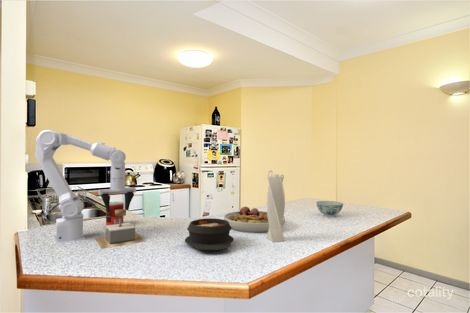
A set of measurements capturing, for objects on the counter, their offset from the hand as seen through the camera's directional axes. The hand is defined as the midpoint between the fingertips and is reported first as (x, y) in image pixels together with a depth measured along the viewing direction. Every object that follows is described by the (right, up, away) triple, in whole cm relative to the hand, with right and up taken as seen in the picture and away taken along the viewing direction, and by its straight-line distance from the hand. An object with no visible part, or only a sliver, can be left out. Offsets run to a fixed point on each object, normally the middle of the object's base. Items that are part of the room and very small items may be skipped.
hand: (117, 210), depth 113 cm
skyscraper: (+66, -11, -4) cm, 67 cm away
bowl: (+59, -12, +20) cm, 63 cm away
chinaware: (+105, -12, +46) cm, 115 cm away
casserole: (+40, -11, -10) cm, 42 cm away
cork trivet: (+4, -10, -7) cm, 14 cm away
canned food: (-9, -11, +18) cm, 23 cm away
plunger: (+4, -7, -7) cm, 11 cm away
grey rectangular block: (+4, -10, -7) cm, 13 cm away
